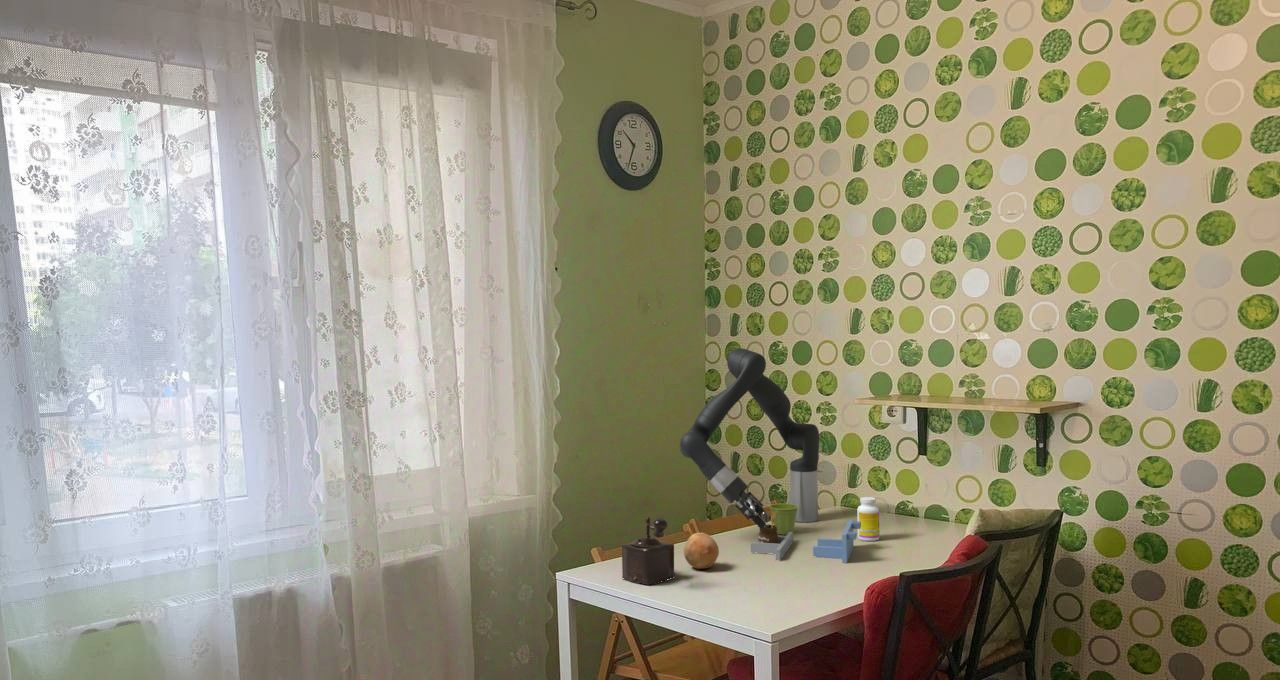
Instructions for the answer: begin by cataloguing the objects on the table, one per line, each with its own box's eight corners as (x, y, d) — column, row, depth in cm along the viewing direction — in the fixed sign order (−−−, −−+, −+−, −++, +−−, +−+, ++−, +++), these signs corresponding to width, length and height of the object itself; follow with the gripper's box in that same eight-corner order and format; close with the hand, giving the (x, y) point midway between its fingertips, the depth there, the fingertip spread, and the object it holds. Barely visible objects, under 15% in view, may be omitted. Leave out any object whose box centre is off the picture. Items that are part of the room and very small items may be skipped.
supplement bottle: (881, 541, 283) (881, 500, 283) (860, 541, 283) (859, 500, 283) (876, 536, 290) (876, 496, 290) (855, 536, 290) (855, 496, 290)
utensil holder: (770, 546, 280) (769, 507, 280) (783, 550, 275) (782, 510, 274) (754, 548, 277) (753, 509, 277) (767, 553, 272) (766, 512, 272)
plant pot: (774, 528, 304) (774, 502, 304) (802, 530, 300) (802, 504, 300) (765, 534, 296) (765, 507, 296) (794, 537, 292) (793, 509, 291)
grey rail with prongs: (746, 558, 266) (745, 548, 266) (762, 539, 289) (761, 530, 289) (779, 560, 263) (779, 550, 263) (793, 541, 286) (793, 531, 286)
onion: (726, 568, 256) (726, 532, 256) (701, 575, 249) (700, 538, 249) (702, 562, 263) (701, 527, 263) (676, 568, 257) (676, 533, 256)
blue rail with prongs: (811, 560, 262) (810, 532, 262) (820, 544, 281) (819, 518, 281) (855, 563, 258) (854, 535, 258) (861, 546, 277) (861, 520, 277)
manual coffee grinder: (619, 579, 247) (617, 513, 246) (647, 571, 254) (646, 506, 254) (661, 590, 236) (659, 520, 235) (689, 581, 244) (688, 514, 243)
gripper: (731, 479, 272) (770, 520, 268) (742, 471, 285) (779, 510, 282) (714, 496, 274) (753, 537, 270) (725, 488, 287) (762, 526, 284)
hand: (766, 523), depth 276 cm, fingers open, 8 cm apart
